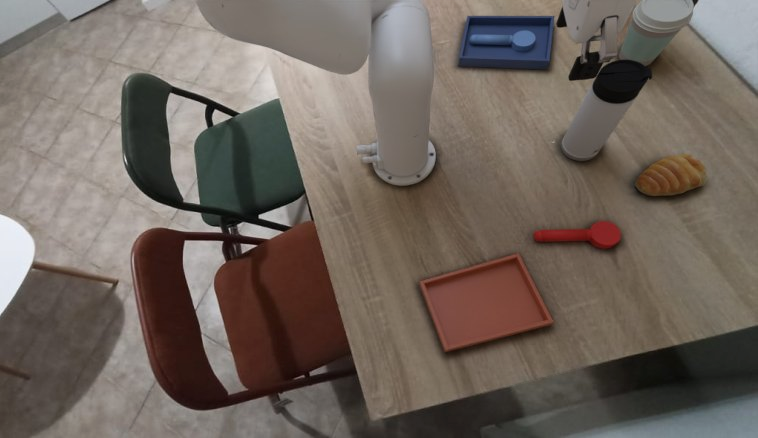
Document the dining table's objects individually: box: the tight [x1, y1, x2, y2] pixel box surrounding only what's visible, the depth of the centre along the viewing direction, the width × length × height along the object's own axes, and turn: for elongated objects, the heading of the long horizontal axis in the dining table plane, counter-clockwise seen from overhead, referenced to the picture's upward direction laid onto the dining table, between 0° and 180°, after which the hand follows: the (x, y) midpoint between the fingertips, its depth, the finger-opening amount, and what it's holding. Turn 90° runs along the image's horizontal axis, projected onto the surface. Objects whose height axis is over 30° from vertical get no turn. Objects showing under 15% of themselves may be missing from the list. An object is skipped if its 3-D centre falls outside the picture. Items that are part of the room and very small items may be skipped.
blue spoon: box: [469, 31, 536, 52], centre depth 94 cm, size 13×4×2 cm, turn 73°
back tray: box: [457, 15, 555, 70], centre depth 94 cm, size 17×12×2 cm
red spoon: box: [532, 220, 622, 249], centre depth 75 cm, size 13×4×2 cm, turn 85°
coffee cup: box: [618, 0, 695, 67], centre depth 81 cm, size 8×8×12 cm
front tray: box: [419, 252, 554, 353], centre depth 74 cm, size 17×12×2 cm
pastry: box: [635, 153, 707, 197], centre depth 74 cm, size 9×7×4 cm
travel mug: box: [560, 59, 653, 162], centre depth 73 cm, size 6×7×20 cm
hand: (574, 50), depth 61 cm, fingers open, 9 cm apart
